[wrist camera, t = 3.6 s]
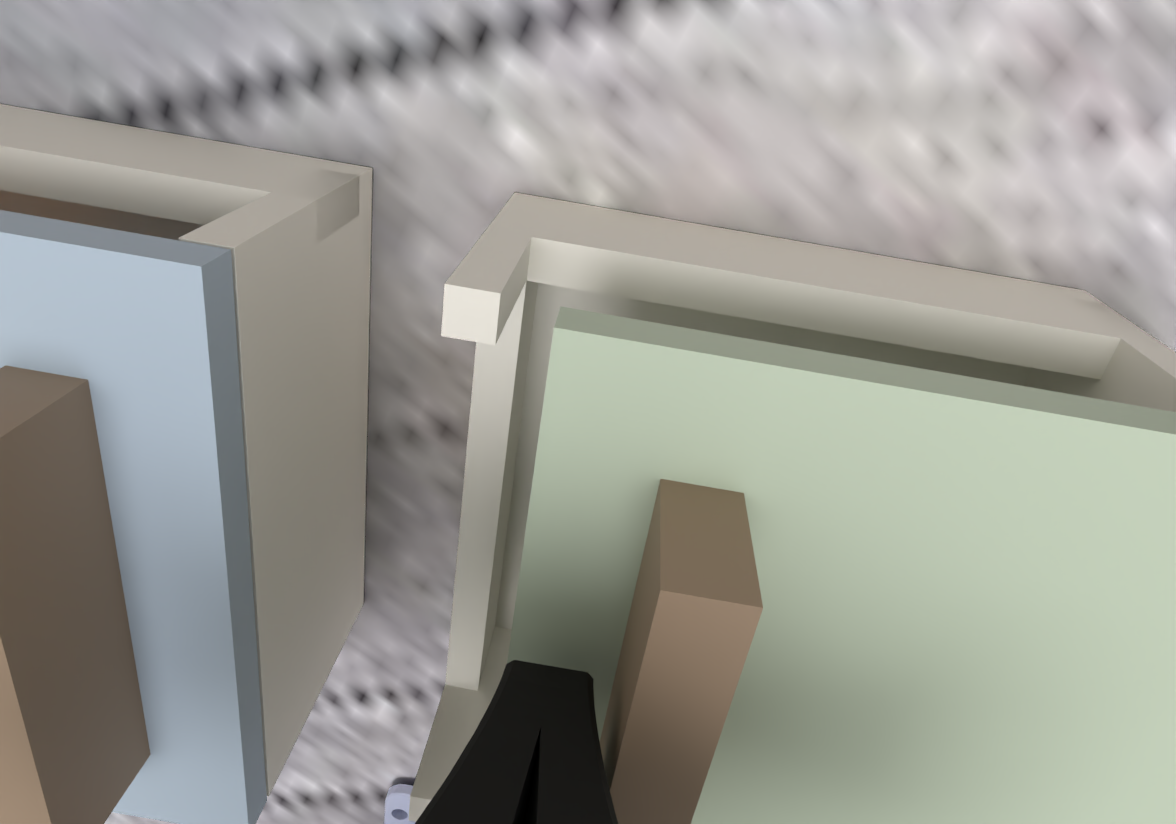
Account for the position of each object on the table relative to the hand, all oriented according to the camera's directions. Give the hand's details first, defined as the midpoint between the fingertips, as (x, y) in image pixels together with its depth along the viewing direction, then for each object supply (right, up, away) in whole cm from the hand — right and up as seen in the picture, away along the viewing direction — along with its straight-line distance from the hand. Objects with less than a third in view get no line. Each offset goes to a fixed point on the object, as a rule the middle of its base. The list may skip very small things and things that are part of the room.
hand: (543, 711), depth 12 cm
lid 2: (+5, 0, +1) cm, 6 cm away
